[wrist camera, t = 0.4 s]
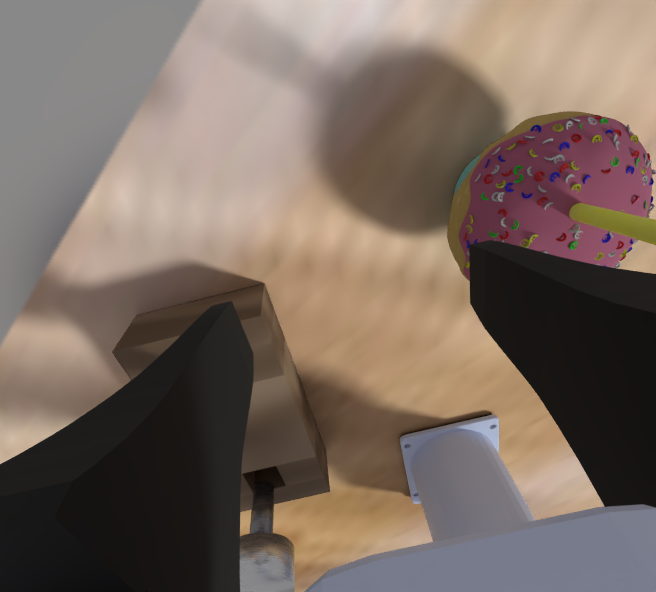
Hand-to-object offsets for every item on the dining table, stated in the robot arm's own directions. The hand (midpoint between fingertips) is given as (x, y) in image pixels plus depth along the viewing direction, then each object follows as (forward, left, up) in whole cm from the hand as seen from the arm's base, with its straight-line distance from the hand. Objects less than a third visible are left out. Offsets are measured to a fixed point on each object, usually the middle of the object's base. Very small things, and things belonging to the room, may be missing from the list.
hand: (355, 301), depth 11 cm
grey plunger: (-17, +9, -6) cm, 20 cm away
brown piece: (-12, +9, -10) cm, 18 cm away
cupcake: (-2, -9, -10) cm, 14 cm away
